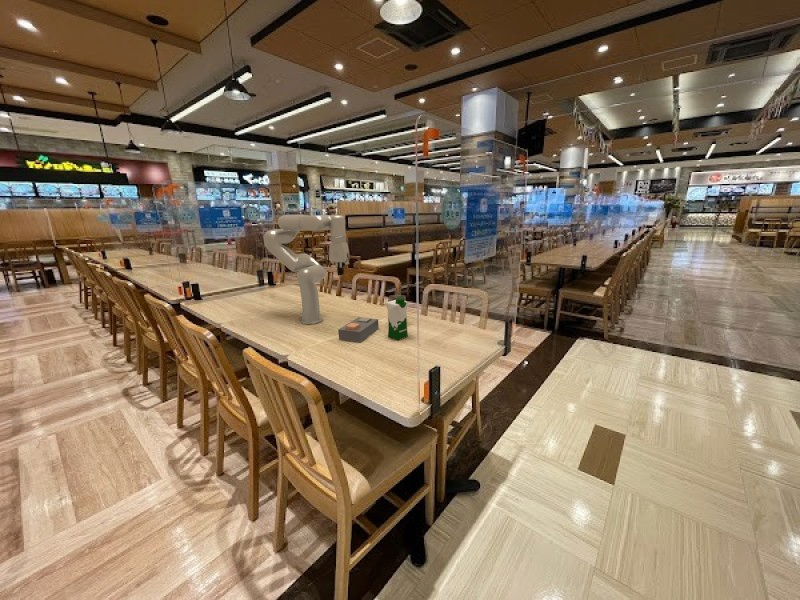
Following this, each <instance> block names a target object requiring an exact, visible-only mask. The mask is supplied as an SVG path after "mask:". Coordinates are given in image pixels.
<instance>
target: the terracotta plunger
mask: <svg viewBox="0 0 800 600" xmlns="http://www.w3.org/2000/svg"><path fill="white" fill-rule="evenodd" d="M349 323H350V322H349ZM347 324H348V323H347ZM358 328H360V324H356V323H350V324H348V325H347V326H346V330H354V331H355V330H357V329H358Z"/></svg>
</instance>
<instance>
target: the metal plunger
mask: <svg viewBox="0 0 800 600" xmlns="http://www.w3.org/2000/svg"><path fill="white" fill-rule="evenodd" d="M371 319H372V317H362V318H361V319H359V320H358V322H364V323H367V322H369V321H370V320H371Z"/></svg>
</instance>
